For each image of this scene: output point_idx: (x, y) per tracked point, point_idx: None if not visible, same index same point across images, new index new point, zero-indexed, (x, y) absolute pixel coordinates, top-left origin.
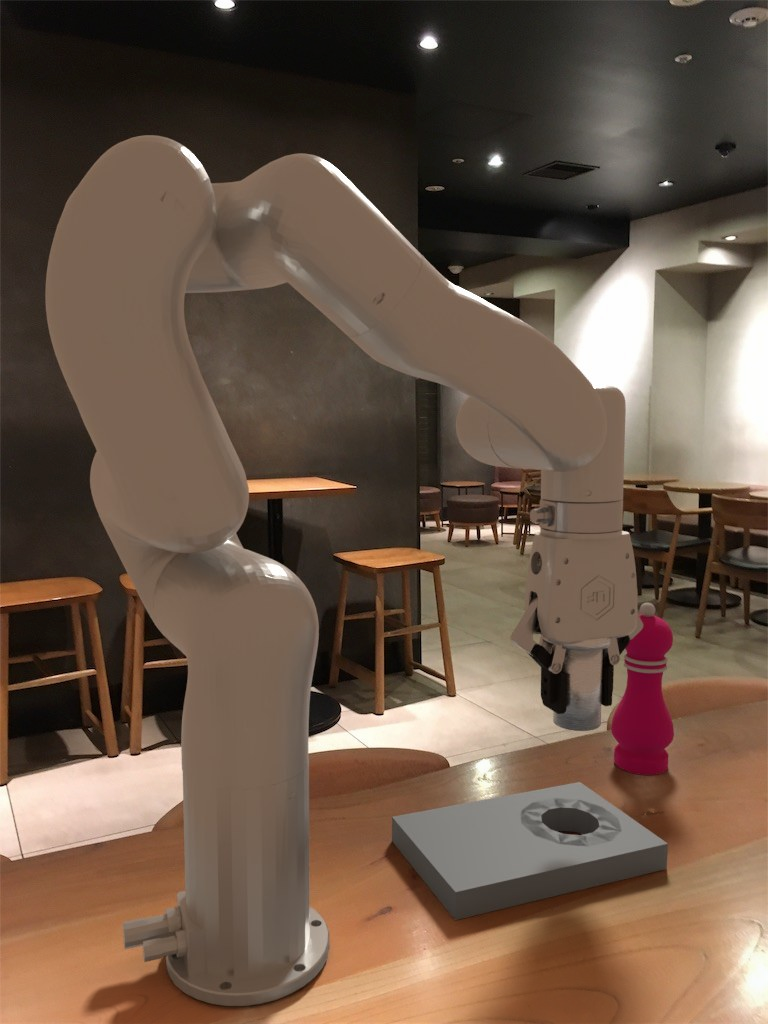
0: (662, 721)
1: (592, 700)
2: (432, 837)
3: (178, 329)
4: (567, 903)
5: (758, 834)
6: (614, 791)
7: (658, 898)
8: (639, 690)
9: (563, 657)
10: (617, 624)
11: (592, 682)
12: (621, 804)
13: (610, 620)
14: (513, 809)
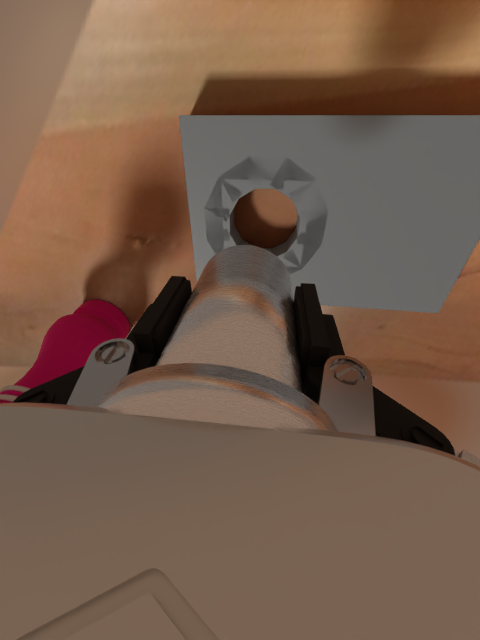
0: (57, 333)
1: (235, 275)
2: (440, 258)
3: None
4: (360, 91)
5: (37, 145)
6: (156, 290)
7: (242, 46)
8: (61, 375)
9: (325, 395)
10: (3, 478)
11: (230, 300)
12: (162, 266)
13: (34, 530)
14: (306, 275)
